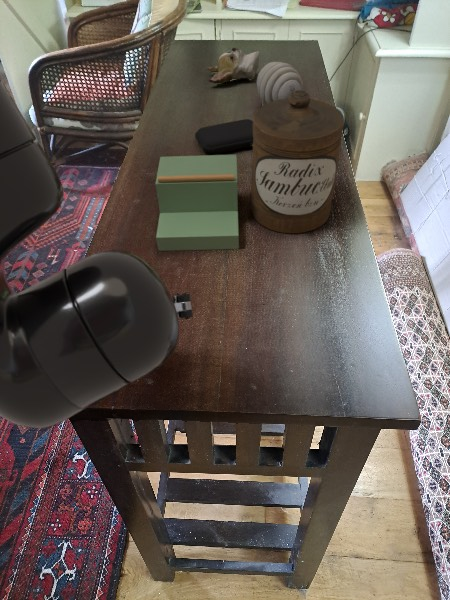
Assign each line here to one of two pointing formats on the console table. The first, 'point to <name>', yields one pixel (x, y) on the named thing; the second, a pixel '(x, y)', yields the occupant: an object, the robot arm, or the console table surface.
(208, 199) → the green step block
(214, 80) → the ceramic sculpture
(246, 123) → the carrying case
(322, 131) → the wooden container
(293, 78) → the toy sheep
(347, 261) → the console table surface
